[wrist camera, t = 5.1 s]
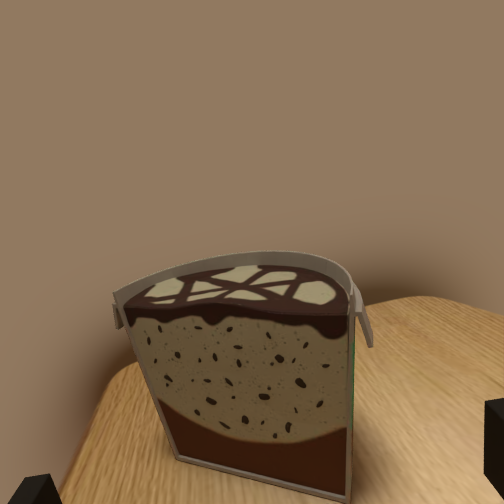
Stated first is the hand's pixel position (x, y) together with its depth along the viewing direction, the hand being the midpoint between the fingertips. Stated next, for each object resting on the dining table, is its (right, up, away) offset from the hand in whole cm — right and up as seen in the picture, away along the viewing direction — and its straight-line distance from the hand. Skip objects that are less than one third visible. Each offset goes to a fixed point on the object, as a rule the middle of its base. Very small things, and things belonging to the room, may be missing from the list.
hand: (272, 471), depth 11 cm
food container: (+1, -4, +9) cm, 10 cm away
